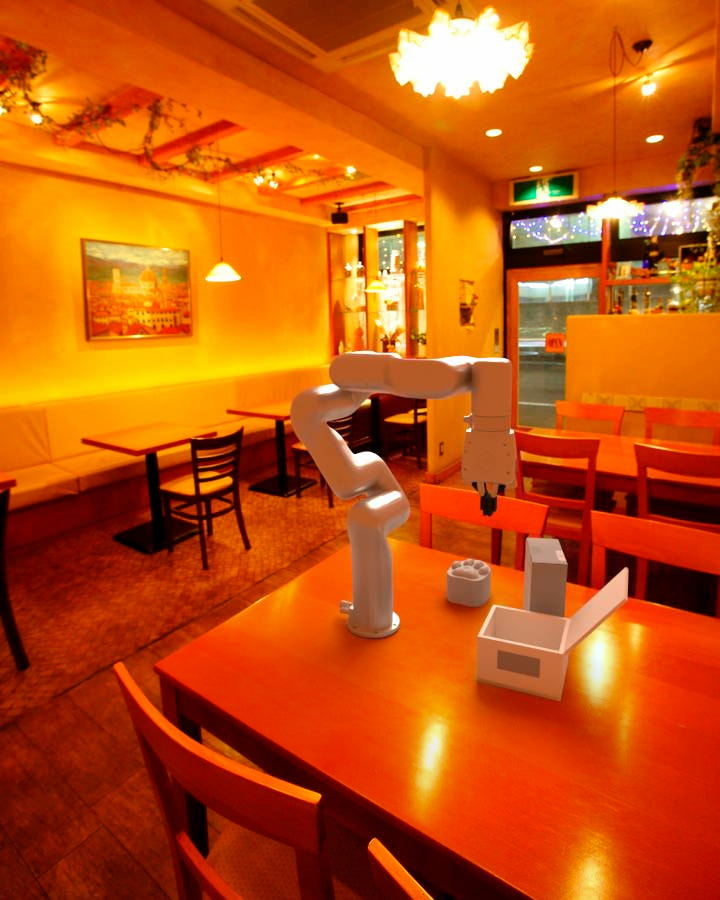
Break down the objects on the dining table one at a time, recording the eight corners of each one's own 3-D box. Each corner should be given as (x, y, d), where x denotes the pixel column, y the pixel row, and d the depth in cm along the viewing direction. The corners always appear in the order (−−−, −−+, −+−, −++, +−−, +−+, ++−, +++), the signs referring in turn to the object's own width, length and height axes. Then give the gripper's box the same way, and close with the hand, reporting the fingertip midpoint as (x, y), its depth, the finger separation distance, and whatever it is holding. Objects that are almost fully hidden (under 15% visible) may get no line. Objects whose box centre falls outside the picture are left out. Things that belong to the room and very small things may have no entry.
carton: (476, 681, 115) (477, 636, 112) (492, 645, 127) (493, 604, 125) (560, 701, 108) (563, 654, 106) (568, 661, 120) (570, 618, 118)
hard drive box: (563, 649, 125) (568, 565, 120) (527, 646, 126) (530, 563, 122) (554, 614, 140) (558, 537, 135) (521, 612, 141) (524, 536, 137)
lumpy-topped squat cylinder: (442, 600, 148) (442, 569, 146) (459, 580, 159) (460, 551, 157) (480, 609, 143) (481, 577, 141) (496, 588, 154) (497, 558, 152)
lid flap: (624, 598, 99) (627, 601, 99) (625, 566, 111) (628, 569, 111) (563, 653, 106) (566, 656, 106) (570, 617, 118) (573, 620, 118)
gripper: (447, 424, 109) (446, 515, 114) (527, 429, 103) (523, 525, 107) (457, 418, 116) (457, 504, 120) (533, 422, 110) (530, 512, 114)
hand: (488, 514), depth 114 cm, fingers closed
